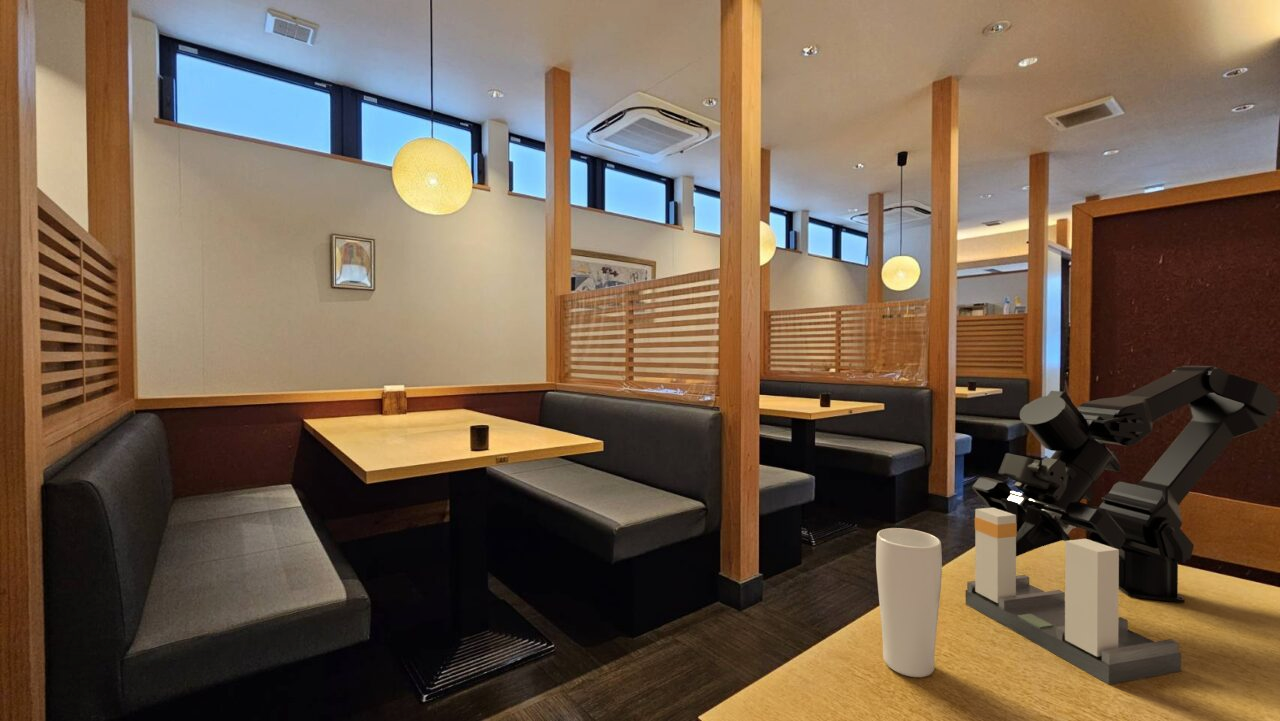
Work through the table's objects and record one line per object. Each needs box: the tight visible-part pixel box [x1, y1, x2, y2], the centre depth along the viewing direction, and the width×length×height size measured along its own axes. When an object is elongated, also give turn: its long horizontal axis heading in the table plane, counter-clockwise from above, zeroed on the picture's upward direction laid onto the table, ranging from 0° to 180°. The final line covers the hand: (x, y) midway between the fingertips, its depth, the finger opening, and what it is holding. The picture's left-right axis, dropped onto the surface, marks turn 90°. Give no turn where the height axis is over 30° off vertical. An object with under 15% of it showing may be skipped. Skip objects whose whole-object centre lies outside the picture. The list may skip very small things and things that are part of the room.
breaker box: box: [965, 574, 1182, 685], centre depth 69 cm, size 10×19×3 cm, turn 13°
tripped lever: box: [974, 507, 1017, 603], centre depth 74 cm, size 3×4×12 cm
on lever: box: [1064, 538, 1120, 657], centre depth 62 cm, size 3×4×12 cm
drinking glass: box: [875, 527, 943, 678], centre depth 62 cm, size 7×7×15 cm
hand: (1005, 555), depth 75 cm, fingers closed, pressing on tripped lever
